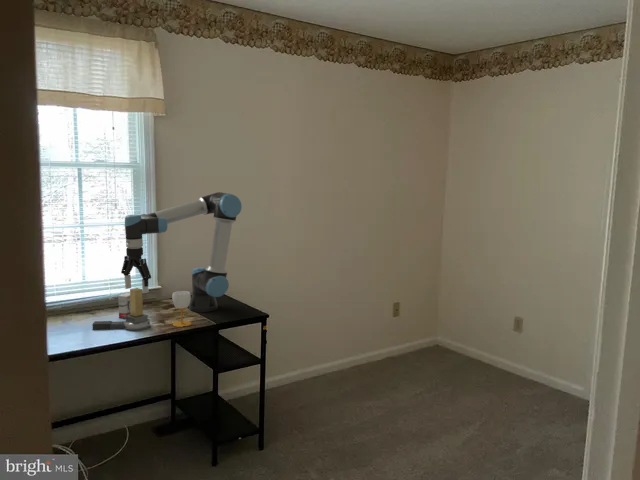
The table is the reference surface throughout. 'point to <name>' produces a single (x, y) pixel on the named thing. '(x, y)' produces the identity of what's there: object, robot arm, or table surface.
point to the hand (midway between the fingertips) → (136, 290)
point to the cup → (181, 305)
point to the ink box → (124, 305)
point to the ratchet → (124, 324)
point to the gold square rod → (136, 302)
